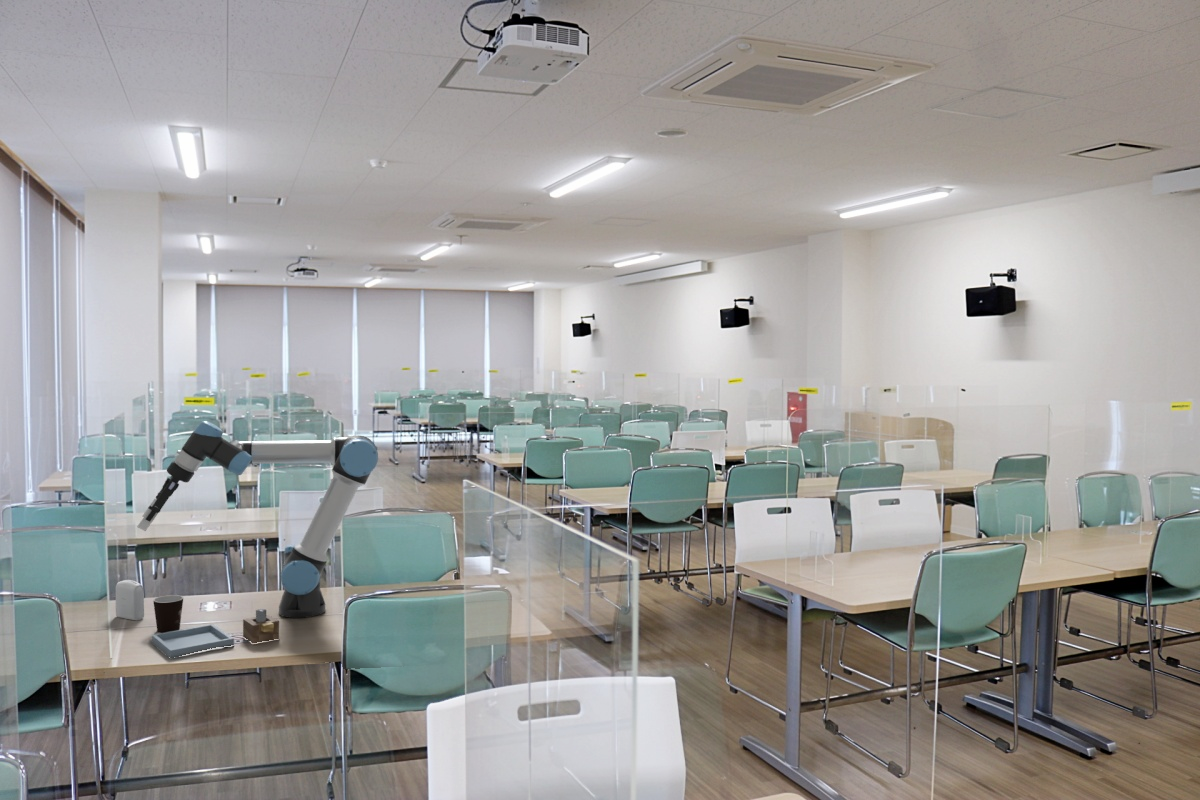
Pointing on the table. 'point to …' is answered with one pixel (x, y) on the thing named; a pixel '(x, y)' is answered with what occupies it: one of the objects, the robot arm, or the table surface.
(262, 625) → the collar
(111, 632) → the table surface
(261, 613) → the post
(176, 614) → the coffee mug
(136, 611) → the photo printer
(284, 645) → the table surface
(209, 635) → the tray
